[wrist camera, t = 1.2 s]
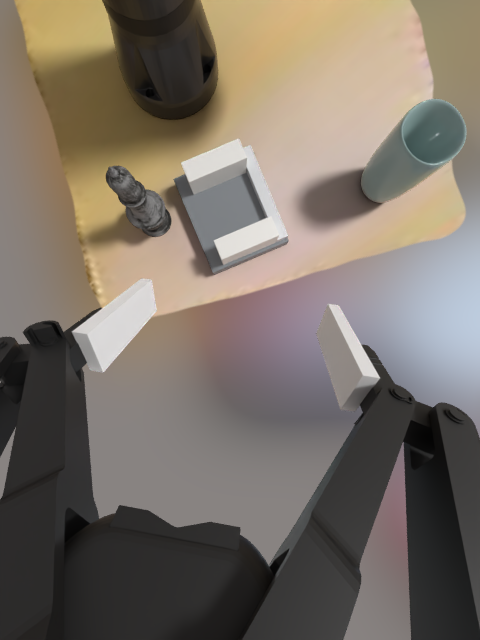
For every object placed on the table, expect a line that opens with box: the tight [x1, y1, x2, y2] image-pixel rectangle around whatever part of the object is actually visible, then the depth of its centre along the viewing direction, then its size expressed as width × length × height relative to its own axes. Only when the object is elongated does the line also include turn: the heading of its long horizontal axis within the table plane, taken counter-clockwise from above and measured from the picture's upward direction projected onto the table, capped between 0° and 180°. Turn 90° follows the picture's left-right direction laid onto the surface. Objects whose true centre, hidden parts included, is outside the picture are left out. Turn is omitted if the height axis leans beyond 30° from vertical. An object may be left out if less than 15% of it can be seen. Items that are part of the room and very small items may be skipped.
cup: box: [361, 99, 466, 203], centre depth 29 cm, size 8×8×10 cm
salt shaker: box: [106, 166, 171, 237], centre depth 28 cm, size 6×6×12 cm
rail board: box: [174, 138, 288, 275], centre depth 32 cm, size 16×13×4 cm
